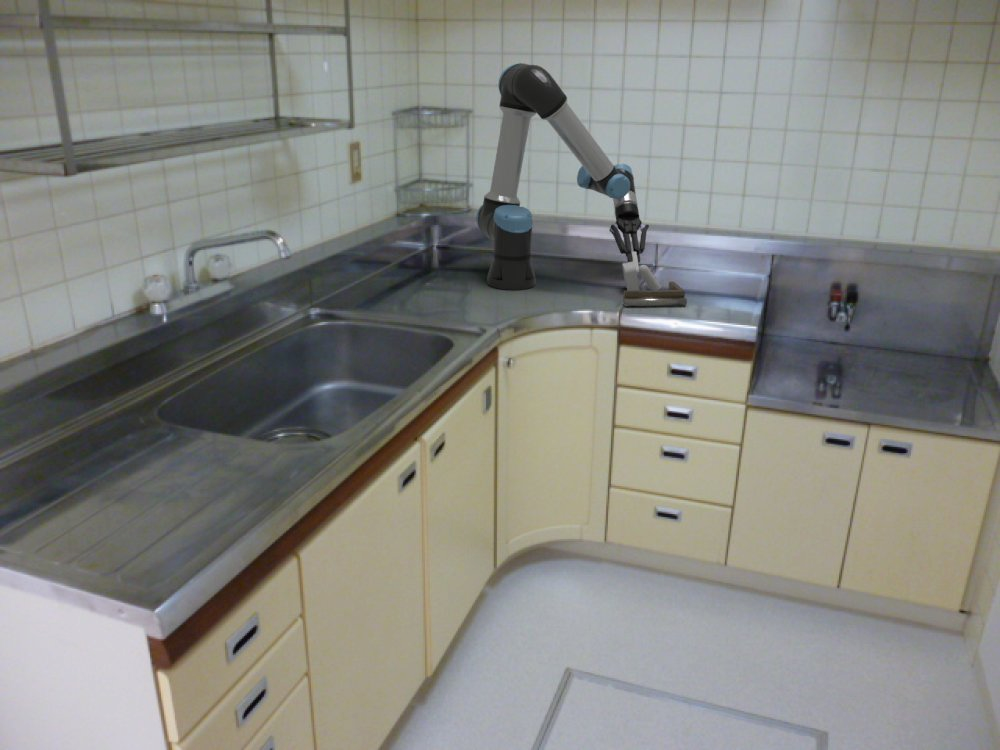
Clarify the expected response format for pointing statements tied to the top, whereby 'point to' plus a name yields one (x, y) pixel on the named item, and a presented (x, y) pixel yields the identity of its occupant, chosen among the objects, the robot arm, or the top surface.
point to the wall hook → (632, 277)
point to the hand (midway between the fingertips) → (635, 271)
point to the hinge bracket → (656, 297)
